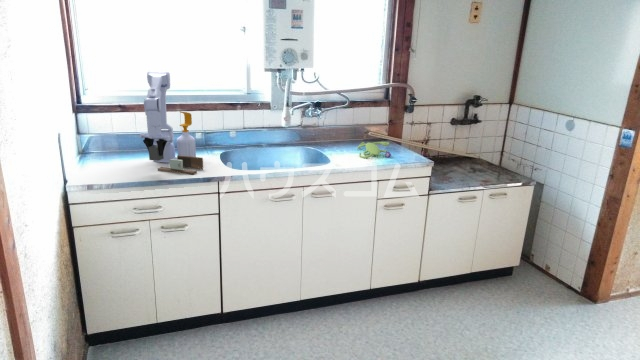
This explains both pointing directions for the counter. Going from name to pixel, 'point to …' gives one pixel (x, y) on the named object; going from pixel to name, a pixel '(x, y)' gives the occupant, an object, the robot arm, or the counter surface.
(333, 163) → the counter surface
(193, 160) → the door frame
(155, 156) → the block
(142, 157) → the counter surface
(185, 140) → the soap bottle
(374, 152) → the figurine
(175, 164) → the pale green block
